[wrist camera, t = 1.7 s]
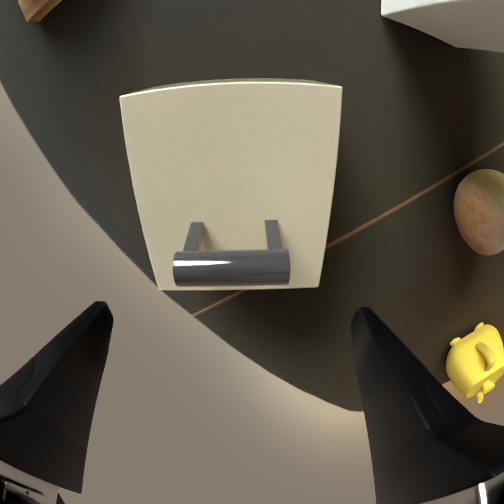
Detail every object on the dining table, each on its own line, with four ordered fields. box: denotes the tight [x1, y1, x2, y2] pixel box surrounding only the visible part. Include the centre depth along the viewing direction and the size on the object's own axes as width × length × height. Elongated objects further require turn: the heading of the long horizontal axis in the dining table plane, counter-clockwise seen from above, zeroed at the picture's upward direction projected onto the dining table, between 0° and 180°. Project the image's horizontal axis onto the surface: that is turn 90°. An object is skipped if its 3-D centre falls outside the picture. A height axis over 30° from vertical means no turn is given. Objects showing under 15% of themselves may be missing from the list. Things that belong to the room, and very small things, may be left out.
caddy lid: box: [120, 81, 343, 290], centre depth 13 cm, size 12×11×5 cm
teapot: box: [446, 323, 504, 403], centre depth 33 cm, size 18×11×11 cm, turn 31°
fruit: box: [454, 169, 504, 255], centre depth 18 cm, size 8×7×8 cm
